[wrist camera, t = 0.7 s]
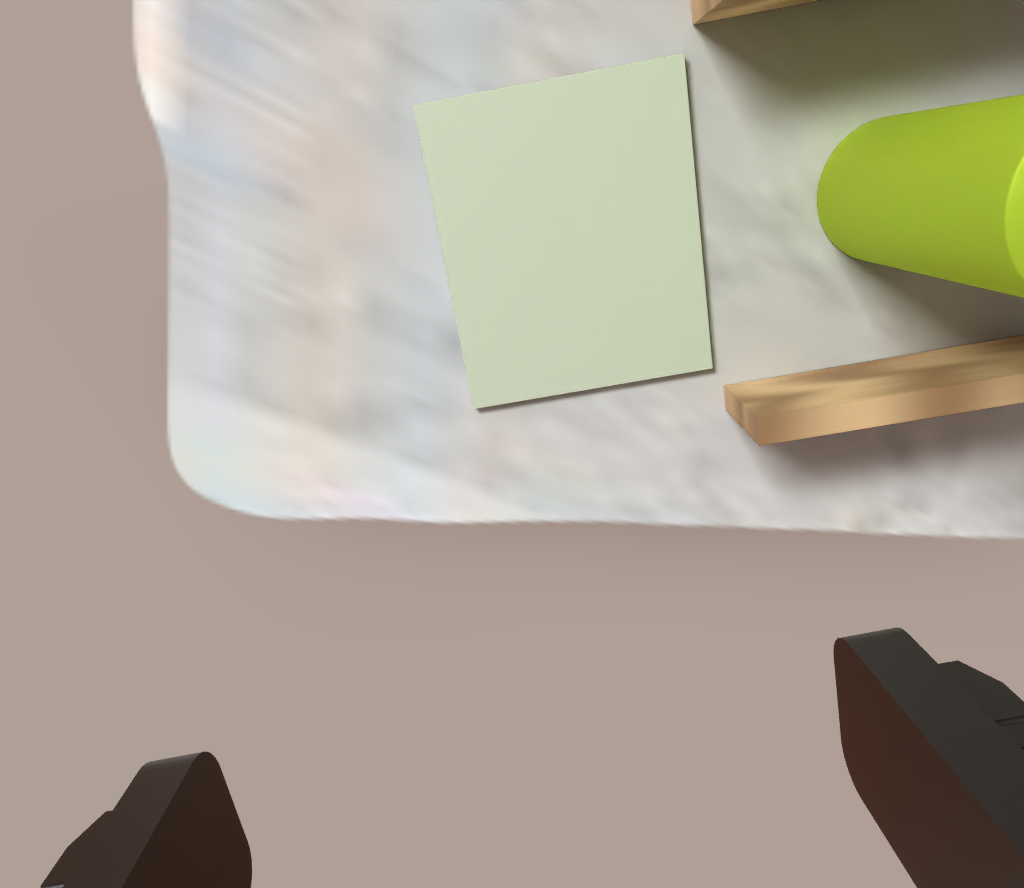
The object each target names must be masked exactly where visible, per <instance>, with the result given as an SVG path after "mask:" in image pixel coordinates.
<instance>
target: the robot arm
mask: <svg viewBox="0 0 1024 888" xmlns="http://www.w3.org/2000/svg"><path fill="white" fill-rule="evenodd" d="M834 664H835V676H836V686H837V698H838V709H839V721H840V732H841V742H842V748H843V753H844V757H845V761H846V764H847V767H848V770H849V773H850V776H851V778H852V781H853V783H854V785H855V788H856V790H857V792H858V794H859V795H860V797H861V799H862V800H863V802H864V804H865V805H866V807H867V808H868V810H869V811H870V813H871V815H872V816H873V818H874V820H875V821H876V823H877V824H878V826H879V828H880V829H881V831H882V832H883V834H884V835H885V837H886V839H887V840H888V842H889V843H890V845H891V846H892V848H893V850H894V851H895V853H896V855H897V856H898V858H899V859H900V861H901V863H902V864H903V866H904V867H905V869H906V871H907V872H908V874H909V875H910V877H911V879H912V880H913V882H914V883H915V885H916V887H917V888H1024V702H1023V701H1022V700H1021V699H1020V698H1019V697H1018V696H1017V695H1016V694H1015V693H1013V692H1012V691H1011V690H1010V689H1009V688H1008V687H1007V686H1006V685H1005V684H1004V683H1002V682H1000V681H998V680H996V679H994V678H992V677H990V676H988V675H986V674H984V673H982V672H980V671H978V670H976V669H974V668H972V667H970V666H968V665H966V664H964V663H962V662H960V661H952V662H947V663H941V664H938V663H937V662H936V661H935V660H934V659H932V657H930V655H929V654H928V653H927V652H926V651H925V650H924V649H923V648H922V647H921V646H920V645H919V644H918V643H917V642H916V641H915V640H914V639H913V638H912V637H911V636H910V635H909V634H908V633H907V632H906V631H904V630H903V629H901V628H892V629H886V630H881V631H875V632H870V633H865V634H859V635H853V636H848V637H843V638H838V639H837V640H836V641H835V644H834ZM251 880H252V860H251V853H250V848H249V844H248V841H247V838H246V836H245V833H244V830H243V828H242V825H241V822H240V819H239V817H238V814H237V811H236V809H235V806H234V803H233V800H232V798H231V795H230V793H229V790H228V787H227V784H226V782H225V779H224V776H223V773H222V771H221V768H220V765H219V763H218V761H217V760H216V758H215V757H214V756H213V755H212V754H211V753H209V752H201V753H195V754H190V755H185V756H179V757H174V758H169V759H162V760H157V761H151V762H148V763H146V764H145V765H144V766H142V767H141V769H140V770H139V771H138V773H137V774H136V776H135V777H134V779H133V780H132V782H131V783H130V785H129V787H128V788H127V790H126V791H125V793H124V794H123V796H122V797H121V799H120V800H119V802H118V803H117V805H116V806H115V808H114V809H113V810H112V811H107V812H105V813H104V814H103V815H102V816H101V817H100V818H98V819H97V820H96V821H95V822H94V823H93V824H92V825H91V826H90V827H89V828H88V829H87V830H86V831H84V832H83V833H82V834H81V835H80V836H79V837H78V838H77V839H76V840H75V841H74V842H72V843H71V844H70V845H69V846H68V847H67V849H66V850H65V851H64V853H63V854H62V856H61V857H60V859H59V860H58V862H57V863H56V864H55V866H54V867H53V869H52V870H51V872H50V873H49V875H48V876H47V878H46V879H45V880H44V882H43V883H42V885H41V888H251Z"/></svg>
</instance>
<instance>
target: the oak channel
mask: <svg viewBox="0 0 1024 888" xmlns="http://www.w3.org/2000/svg"><path fill="white" fill-rule="evenodd" d="M813 1H818V0H691V9H692V20H693V25H695V24H700V23H705V22H710V21H715V20H720V19H725V18H731V17H736V16H741V15H746V14H751V13H756V12H762V11H767V10H772V9H777V8H782V7H787V6H792V5H798V4H803V3H808V2H813ZM724 392H725V404H726V411H727V412H728V413H729V414H730V415H731V416H732V417H733V418H734V419H735V420H736V421H737V422H738V423H739V424H740V426H741V427H742V428H743V429H744V430H745V431H746V432H747V433H748V434H749V435H750V436H751V437H752V438H753V439H754V440H755V442H756V443H757V444H758V445H759V446H761V445H767V444H773V443H779V442H786V441H792V440H798V439H804V438H810V437H816V436H822V435H828V434H834V433H840V432H846V431H853V430H859V429H865V428H871V427H877V426H883V425H889V424H895V423H901V422H907V421H913V420H920V419H926V418H932V417H938V416H944V415H950V414H956V413H962V412H968V411H974V410H980V409H986V408H993V407H999V406H1005V405H1011V404H1017V403H1023V402H1024V335H1021V336H1015V337H1009V338H1003V339H997V340H991V341H985V342H979V343H973V344H967V345H962V346H956V347H950V348H944V349H938V350H932V351H926V352H920V353H914V354H908V355H902V356H896V357H890V358H884V359H879V360H873V361H867V362H861V363H855V364H849V365H843V366H837V367H831V368H825V369H819V370H813V371H807V372H802V373H796V374H790V375H784V376H778V377H772V378H766V379H760V380H754V381H748V382H742V383H736V384H730V385H725V386H724Z"/></svg>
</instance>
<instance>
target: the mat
mask: <svg viewBox="0 0 1024 888" xmlns="http://www.w3.org/2000/svg"><path fill="white" fill-rule="evenodd" d="M413 109H414V114H415V119H416V124H417V129H418V134H419V139H420V144H421V149H422V154H423V159H424V164H425V169H426V174H427V179H428V184H429V189H430V194H431V199H432V204H433V209H434V214H435V219H436V224H437V229H438V234H439V239H440V244H441V249H442V254H443V259H444V264H445V269H446V274H447V279H448V284H449V289H450V294H451V299H452V304H453V309H454V314H455V319H456V324H457V329H458V334H459V339H460V344H461V349H462V354H463V359H464V364H465V369H466V374H467V379H468V384H469V389H470V394H471V399H472V404H473V409H476V408H482V407H488V406H494V405H500V404H506V403H512V402H518V401H523V400H529V399H535V398H541V397H547V396H553V395H559V394H565V393H571V392H576V391H582V390H588V389H594V388H600V387H606V386H612V385H618V384H623V383H629V382H635V381H641V380H647V379H653V378H659V377H665V376H670V375H676V374H682V373H688V372H694V371H700V370H706V369H712V368H713V367H712V356H711V345H710V334H709V323H708V312H707V301H706V290H705V279H704V268H703V257H702V246H701V235H700V223H699V212H698V201H697V190H696V179H695V168H694V157H693V146H692V135H691V124H690V113H689V102H688V91H687V80H686V69H685V58H684V53H681V54H676V55H671V56H665V57H660V58H655V59H650V60H645V61H639V62H634V63H629V64H624V65H619V66H613V67H608V68H603V69H598V70H593V71H587V72H582V73H577V74H572V75H567V76H561V77H556V78H551V79H546V80H541V81H535V82H530V83H525V84H520V85H515V86H509V87H504V88H499V89H494V90H489V91H483V92H478V93H473V94H468V95H463V96H457V97H452V98H447V99H442V100H437V101H431V102H426V103H421V104H416V105H413Z"/></svg>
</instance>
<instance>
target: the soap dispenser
mask: <svg viewBox="0 0 1024 888" xmlns="http://www.w3.org/2000/svg"><path fill="white" fill-rule="evenodd" d="M817 209H818V215H819V219H820V222H821V225H822V227H823V230H824V232H825V233H826V235H827V237H828V238H829V239H830V241H831V242H832V243H833V244H834V245H835V246H836V247H837V248H838V249H839V250H841V251H842V252H844V253H845V254H847V255H849V256H851V257H853V258H856V259H859V260H863V261H867V262H872V263H876V264H880V265H885V266H889V267H893V268H897V269H902V270H906V271H910V272H915V273H919V274H923V275H928V276H932V277H936V278H940V279H945V280H949V281H953V282H958V283H962V284H966V285H971V286H975V287H979V288H983V289H988V290H992V291H996V292H1001V293H1005V294H1009V295H1014V296H1018V297H1022V298H1024V95H1017V96H1011V97H1005V98H999V99H993V100H987V101H980V102H974V103H968V104H962V105H956V106H949V107H943V108H937V109H931V110H925V111H919V112H912V113H906V114H900V115H894V116H888V117H883V118H879V119H876V120H873V121H870V122H868V123H866V124H864V125H862V126H860V127H859V128H857V129H856V130H854V131H853V132H852V133H850V134H849V135H848V136H847V137H846V138H845V139H844V140H843V141H842V142H841V143H840V144H839V145H838V146H837V147H836V149H835V150H834V151H833V153H832V154H831V156H830V157H829V159H828V161H827V163H826V165H825V167H824V169H823V172H822V174H821V177H820V181H819V185H818V192H817Z"/></svg>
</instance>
